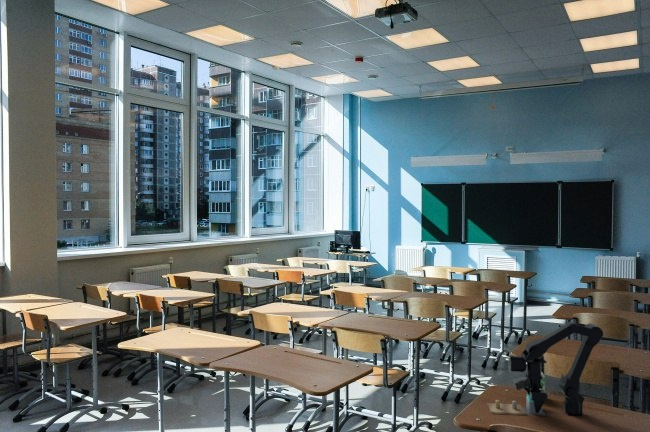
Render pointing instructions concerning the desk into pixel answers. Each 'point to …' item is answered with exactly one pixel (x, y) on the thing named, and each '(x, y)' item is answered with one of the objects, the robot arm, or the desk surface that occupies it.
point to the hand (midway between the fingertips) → (534, 408)
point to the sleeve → (531, 405)
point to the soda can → (543, 381)
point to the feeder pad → (533, 413)
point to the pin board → (506, 408)
